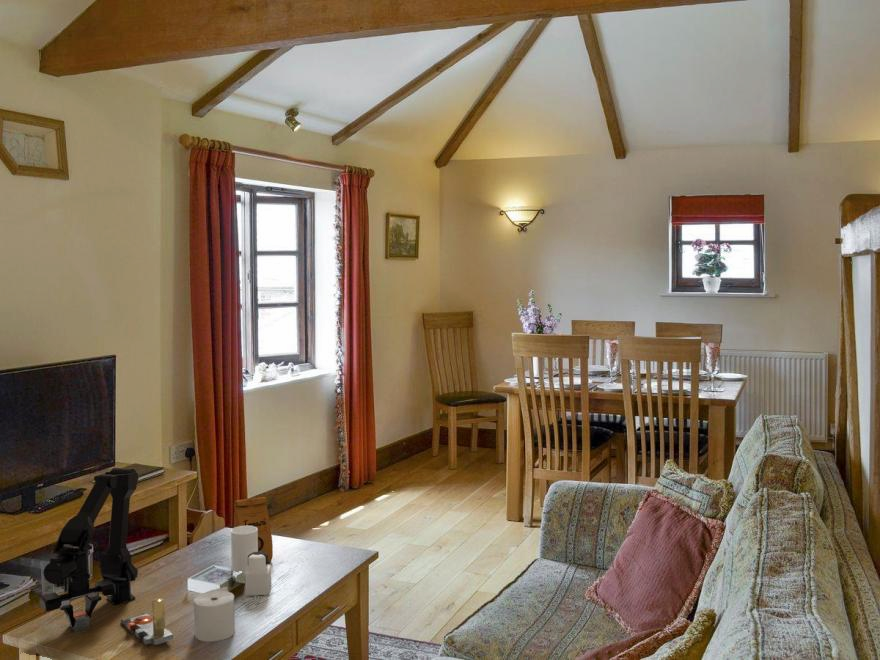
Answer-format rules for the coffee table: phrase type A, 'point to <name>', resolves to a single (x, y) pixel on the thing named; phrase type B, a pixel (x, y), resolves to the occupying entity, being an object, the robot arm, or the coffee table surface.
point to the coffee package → (255, 521)
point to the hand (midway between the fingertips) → (79, 624)
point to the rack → (152, 625)
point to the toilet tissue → (214, 615)
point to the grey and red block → (80, 621)
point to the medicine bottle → (258, 575)
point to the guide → (124, 623)
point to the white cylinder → (243, 546)
